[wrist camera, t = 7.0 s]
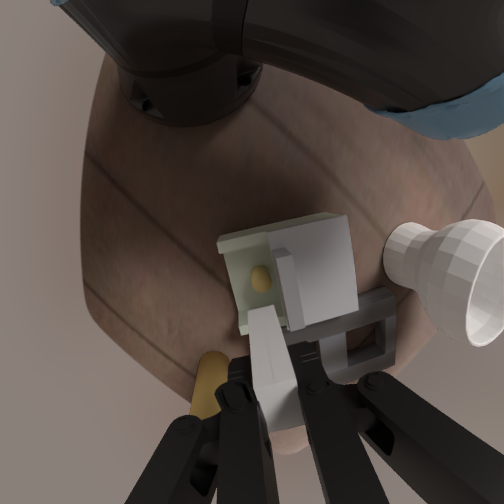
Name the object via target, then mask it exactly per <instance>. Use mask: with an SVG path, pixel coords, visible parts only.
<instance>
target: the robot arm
mask: <svg viewBox="0 0 504 504" xmlns="http://www.w3.org/2000/svg"><path fill="white" fill-rule="evenodd" d="M50 3H51V4H53V5H54V6H59V7H60V8H61V9H62V10H63V11H64V12H65V13H66V14H67V15H68V16H69V17H70V18H72V19H73V20H74V21H75V22H76V23H77V24H78V25H79V26H80V27H81V28H82V29H83V30H84V31H85V32H86V33H87V34H88V35H89V36H90V37H91V38H92V39H93V40H94V41H95V42H96V43H97V44H98V45H99V46H100V47H101V48H102V49H103V50H104V51H105V52H106V53H107V54H108V55H109V56H110V57H111V58H112V59H113V60H114V61H115V62H116V63H117V68H118V74H119V79H120V84H121V88H122V91H123V93H124V95H125V96H126V98H127V100H128V101H129V102H130V104H131V105H132V106H133V107H134V108H135V109H136V110H138V111H139V112H140V113H141V114H143V115H144V116H145V117H147V118H148V119H150V120H152V121H154V122H157V123H160V124H163V125H168V126H175V127H189V126H197V125H202V124H206V123H209V122H212V121H215V120H217V119H220V118H222V117H224V116H226V115H228V114H229V113H231V112H232V111H234V110H235V109H237V108H238V107H239V106H240V105H242V104H243V103H244V102H245V101H246V100H247V99H248V98H249V96H250V95H251V94H252V93H253V91H254V89H255V88H256V86H257V84H258V82H259V79H260V76H261V72H262V67H263V63H265V64H268V65H271V66H274V67H277V68H280V69H283V70H286V71H289V72H292V73H294V74H297V75H300V76H303V77H305V78H308V79H310V80H313V81H315V82H318V83H320V84H322V85H325V86H327V87H329V88H332V89H334V90H336V91H338V92H340V93H343V94H345V95H347V96H349V97H351V98H353V99H355V100H357V101H359V102H361V103H363V104H364V106H365V107H366V108H367V109H368V110H370V111H371V112H373V113H376V114H378V115H380V116H384V117H389V118H391V119H393V120H395V121H397V122H399V123H401V124H403V125H404V126H406V127H408V128H410V129H412V130H413V131H415V132H417V133H419V134H421V135H423V136H426V137H429V138H432V139H437V140H450V139H453V138H457V139H469V138H473V137H476V136H479V135H482V134H485V133H487V132H489V131H491V130H493V129H495V128H497V127H498V126H500V125H501V124H503V123H504V0H50ZM247 313H248V326H249V339H250V352H251V355H248V356H244V357H239V358H234V359H232V360H231V362H230V364H229V365H228V377H227V379H228V380H227V382H225V383H223V384H221V385H220V386H219V387H218V388H217V389H216V391H215V393H214V395H215V398H216V400H217V402H218V404H219V406H220V408H221V411H220V412H219V413H217V414H216V415H213V416H211V417H209V418H206V419H203V420H201V419H200V418H199V417H197V416H195V415H184V416H181V417H178V418H177V419H175V420H174V421H173V422H172V423H171V424H170V426H169V427H168V429H167V431H166V433H165V434H164V436H163V438H162V440H161V441H160V443H159V445H158V447H157V448H156V450H155V452H154V454H153V455H152V457H151V459H150V461H149V462H148V464H147V466H146V467H145V469H144V471H143V473H142V474H141V476H140V478H139V480H138V481H137V483H136V485H135V486H134V488H133V490H132V492H131V493H130V495H129V497H128V499H127V500H126V502H125V503H124V504H211V502H212V499H213V496H214V493H215V490H216V488H217V504H279V496H278V490H277V482H276V475H275V468H274V461H273V454H272V447H271V442H270V439H269V436H268V431H269V433H270V432H275V431H280V430H284V429H289V428H293V427H297V426H301V425H305V426H306V431H307V436H308V441H309V444H310V446H311V450H312V453H313V457H314V461H315V465H316V469H317V472H318V475H319V480H320V483H321V487H322V491H323V494H324V498H325V502H326V504H389V501H388V499H387V497H386V495H385V492H384V490H383V488H382V485H381V483H380V481H379V479H378V476H377V474H376V472H375V470H374V467H373V465H372V463H371V461H370V459H369V456H368V454H367V452H366V450H365V448H364V445H363V443H362V441H361V439H360V437H359V434H360V435H361V436H362V437H363V439H364V440H365V441H366V442H367V443H368V444H369V445H370V446H371V447H372V448H373V449H374V450H375V451H376V452H377V454H378V455H379V456H380V457H381V458H382V459H383V460H384V461H385V462H386V463H387V464H388V465H389V466H390V467H391V468H392V469H393V470H394V471H395V472H396V473H397V474H398V475H399V476H400V477H401V478H402V479H403V480H404V481H405V482H406V483H407V484H408V485H409V486H410V487H411V488H412V489H413V490H414V491H415V492H416V493H417V494H418V495H419V496H420V497H421V498H422V499H423V500H424V501H425V502H426V503H428V504H504V455H503V454H501V453H500V452H498V451H497V450H496V449H494V448H493V447H491V446H490V445H488V444H487V443H485V442H484V441H482V440H481V439H479V438H478V437H477V436H475V435H474V434H472V433H471V432H469V431H468V430H467V429H465V428H464V427H462V426H461V425H459V424H458V423H456V422H455V421H454V420H452V419H451V418H449V417H448V416H447V415H445V414H444V413H442V412H441V411H440V410H438V409H437V408H435V407H434V406H432V405H431V404H430V403H428V402H427V401H425V400H424V399H423V398H421V397H420V396H419V395H417V394H416V393H414V392H413V391H412V390H410V389H409V388H408V387H406V386H405V385H403V384H402V383H401V382H399V381H398V380H397V379H395V378H394V377H393V376H391V375H390V374H388V373H386V372H382V371H374V372H369V373H367V374H365V375H363V376H362V377H361V378H360V379H359V381H358V383H357V384H349V385H341V384H337V383H334V382H333V381H332V380H330V379H329V378H328V376H327V374H326V372H325V370H324V367H323V365H322V363H321V361H320V359H319V357H318V355H317V353H316V350H315V348H314V346H313V345H312V344H310V343H309V342H307V341H303V342H299V343H296V344H292V345H288V346H286V343H285V340H284V337H283V333H282V330H281V327H280V324H279V320H278V317H277V314H276V311H275V307H274V305H271V306H266V307H262V308H258V309H254V310H250V311H247ZM358 433H359V434H358Z"/></svg>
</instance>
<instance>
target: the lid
mask: <svg viewBox="0 0 504 504" xmlns="http://www.w3.org/2000/svg"><path fill="white" fill-rule="evenodd" d="M266 234H267V238H268V243H269V247H270V252H271V257H272V261H273V266H274V271H275V275H276V280H277V285H278V290H279V294H280V299H281V304H282V309H283V314H284V319H285V323H286V327H287V330H290V331H295V330H299V329H303V328H305V326H306V325H310V324H313V323H317V322H320V321H324V320H328V319H331V318H334V317H338V316H341V315H344V314H348V313H351V312H354V311H357V310H359V307H358V296H357V285H356V276H355V267H354V259H353V251H352V244H351V237H350V231H349V224H348V218H347V215H345V214H342V215H338V216H333V217H329V218H324V219H319V220H315V221H310V222H306V223H301V224H297V225H292V226H288V227H283V228H279V229H275V230H270V231H266Z"/></svg>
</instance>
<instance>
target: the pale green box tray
mask: <svg viewBox="0 0 504 504" xmlns="http://www.w3.org/2000/svg"><path fill="white" fill-rule="evenodd" d="M338 215H339V214H334V213H328V212H322V213H317V214H312V215H308V216H303V217H299V218H294V219H290V220H285V221H281V222H276V223H272V224H267V225H263V226H258V227H254V228H250V229H246V230H241V231H237V232H233V233H228V234H224V235H220V236H219V238H218V240H217V242H216V243H217V247H218V251H219V254H222V253H223V255H224V259H225V262H226V266H227V270H228V274H229V278H230V282H231V286H232V289H233V293H234V297H235V301H236V304H237V308H238V312H239V329H240V333H241V335H246V334H249V326H248V313H247V311H250V310H254V309H258V308H262V307H266V306H271V305H274V307H275V311H276V314H277V317H278V320H279V324H280V327H281V326H285V325H286V323H285V319H284V314H283V309H282V304H281V299H280V294H279V290H278V285H277V280H276V275H275V271H274V266H273V261H272V257H271V252H270V247H269V243H268V238H267V234H266V231H270V230H275V229H279V228H283V227H288V226H292V225H297V224H301V223H306V222H310V221H315V220H319V219H324V218H329V217H333V216H338Z"/></svg>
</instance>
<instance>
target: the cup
mask: <svg viewBox="0 0 504 504" xmlns="http://www.w3.org/2000/svg"><path fill="white" fill-rule="evenodd" d="M383 265H384V269H385V272H386V274H387V276H388V278H389V279H390V280H391V281H392V282H394V283H396V284H398V285H401V286H403V287H407V288H411V289H414V290H415V291H416V292H417V293H418V296H419V299H420V301H421V304H422V306H423V308H424V310H425V311H426V313H427V315H428V316H429V318H430V319H431V321H432V322H433V323H434V325H435V326H436V327H437V328H438V329H439V330H441V331H442V332H444V333H445V334H446V335H448V336H449V337H450V338H452V339H455V340H458V341H461V342H464V343H467V344H470V345H473V346H476V347H480V346H485V345H487V344H488V343H490V342H492V341H493V340H494V339H495V338H496V337H497V336H498V335H499V334H500V333H501V332H502V331H503V329H504V229H503V228H501V227H500V226H498V225H496V224H494V223H491V222H488V221H482V220H476V219H470V220H464V221H460V222H456V223H452V224H449V225H447V226H446V227H444V228H442V229H441V230H439V231H432V230H430V229H428V228H426V227H424V226H422V225H420V224H417V223H413V222H409V223H404V224H402V225H400V226H398V227H397V228H396V229H395V230H394V231H393V232H392V233H391V235H390V236H389V238H388V240H387V242H386V245H385V248H384V253H383Z"/></svg>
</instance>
